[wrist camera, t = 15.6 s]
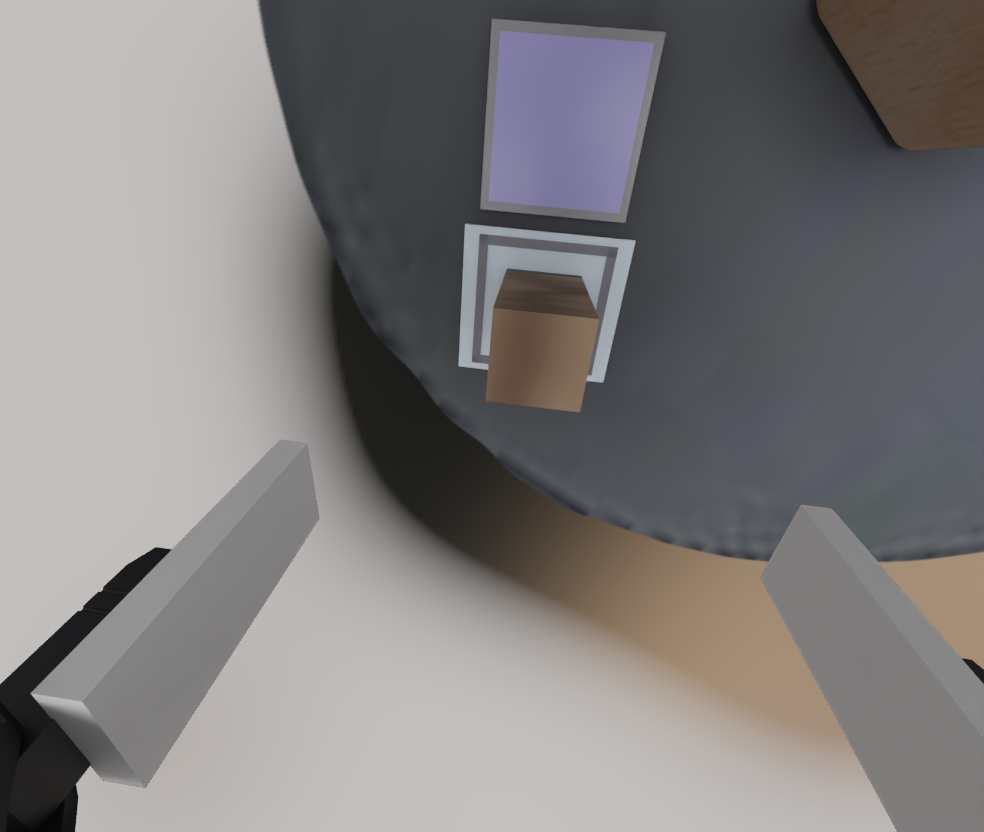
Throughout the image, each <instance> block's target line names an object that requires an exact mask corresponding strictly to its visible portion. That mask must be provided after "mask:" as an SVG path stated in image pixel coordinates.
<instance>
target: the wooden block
mask: <svg viewBox="0 0 984 832" xmlns="http://www.w3.org/2000/svg"><path fill="white" fill-rule="evenodd" d="M816 4H817V10H818V16H819V17H820V19H821V21H822V22H823V24H824V26H825V27H826V29H827V31H828V32H829V34H830V36H831V37H832V39H833V40H834V42H835V44H836V45H837V47H838V49H839V50H840V52H841V54H842V55H843V57H844V59H845V60H846V62H847V64H848V65H849V67H850V69H851V70H852V72H853V74H854V75H855V77H856V79H857V80H858V82H859V83H860V85H861V87H862V88H863V90H864V92H865V93H866V95H867V97H868V98H869V100H870V102H871V103H872V105H873V107H874V108H875V110H876V112H877V113H878V115H879V117H880V118H881V120H882V121H883V123H884V125H885V126H886V128H887V130H888V131H889V133H890V135H891V136H892V138H893V140H894V141H895V142H896V144H897V145H899V146H901V147H903V148H905V149H907V150H909V151H917V150H932V149H947V148H962V147H977V146H984V0H817V1H816Z"/></svg>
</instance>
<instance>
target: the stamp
mask: <svg viewBox="0 0 984 832" xmlns="http://www.w3.org/2000/svg"><path fill="white" fill-rule="evenodd" d="M598 323H599V317H598V315H597V313H596V310H595V308H594V305H593V303H592V300H591V298H590V296H589V293H588V291H587V288H586V286H585V284H584V281H583V279H582V276H577V275H567V274H558V273H548V272H538V271H528V270H519V269H509V268H507V270H506V273H505V276H504V278H503V281H502V284H501V287H500V290H499V293H498V295H497V298H496V301H495V304H494V307H493V315H492V327H491V340H490V352H489V364H488V376H487V388H486V400H485V401H487V402H495V403H504V404H512V405H521V406H529V407H538V408H546V409H555V410H564V411H572V412H580V410H581V405H582V400H583V395H584V390H585V386H586V381H587V376H588V371H589V366H590V361H591V357H592V352H593V347H594V342H595V337H596V333H597V328H598Z"/></svg>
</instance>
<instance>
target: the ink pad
mask: <svg viewBox="0 0 984 832" xmlns="http://www.w3.org/2000/svg"><path fill="white" fill-rule="evenodd" d="M665 35H666V32H659V31H646V30H633V29H620V28H607V27H594V26H581V25H568V24H555V23H542V22H529V21H516V20H503V19H492V23H491V39H490V56H489V72H488V89H487V105H486V122H485V138H484V155H483V171H482V188H481V204H480V209H485V210H495V211H505V212H516V213H526V214H536V215H547V216H557V217H567V218H578V219H588V220H598V221H609V222H619V223H625V222H626V217H627V212H628V208H629V203H630V198H631V194H632V189H633V184H634V180H635V175H636V170H637V166H638V161H639V156H640V152H641V147H642V142H643V138H644V133H645V128H646V124H647V119H648V114H649V110H650V105H651V100H652V96H653V91H654V86H655V81H656V77H657V72H658V67H659V63H660V58H661V53H662V49H663V44H664V39H665Z"/></svg>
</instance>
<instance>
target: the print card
mask: <svg viewBox="0 0 984 832" xmlns="http://www.w3.org/2000/svg"><path fill="white" fill-rule="evenodd" d="M635 242H636V241H635V240H630V239H620V238H610V237H599V236H589V235H579V234H569V233H559V232H548V231H538V230H528V229H518V228H508V227H498V226H487V225H477V224H467V223H466V224H465V236H464V258H463V280H462V302H461V324H460V346H459V366H461V367H469V368H478V369H487V370H488V364H489V352H490V340H491V327H492V315H493V307H494V304H495V301H496V298H497V295H498V293H499V290H500V287H501V284H502V281H503V278H504V276H505V273H506V270H507V268H509V269H519V270H528V271H538V272H548V273H558V274H567V275H577V276H582V279H583V281H584V284H585V286H586V288H587V291H588V293H589V296H590V298H591V300H592V303H593V305H594V308H595V310H596V313H597V315H598V317H599V323H598V328H597V333H596V337H595V342H594V347H593V352H592V357H591V361H590V366H589V371H588V376H587V381H593V382H602V383H603V381H604V377H605V373H606V368H607V364H608V359H609V355H610V351H611V346H612V342H613V338H614V333H615V329H616V325H617V320H618V316H619V312H620V307H621V303H622V298H623V294H624V290H625V285H626V281H627V277H628V272H629V268H630V264H631V259H632V255H633V250H634V246H635Z"/></svg>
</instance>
